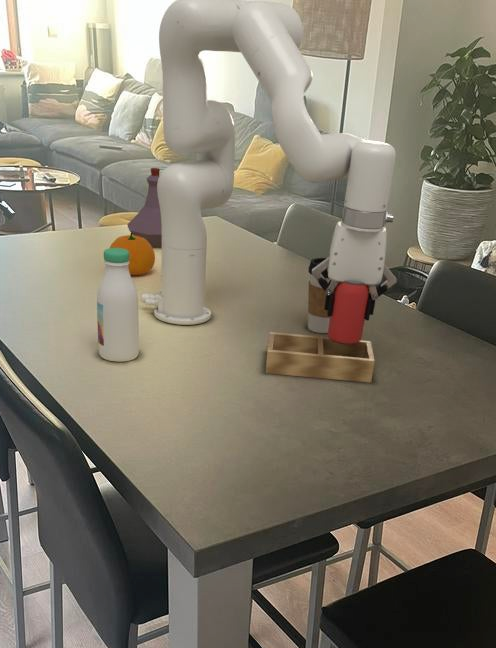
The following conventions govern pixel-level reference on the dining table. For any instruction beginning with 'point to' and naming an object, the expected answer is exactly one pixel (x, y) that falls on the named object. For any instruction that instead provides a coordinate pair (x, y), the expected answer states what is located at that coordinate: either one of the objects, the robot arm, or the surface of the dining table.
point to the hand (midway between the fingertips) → (347, 315)
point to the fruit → (136, 253)
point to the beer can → (348, 312)
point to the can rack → (319, 358)
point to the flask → (149, 215)
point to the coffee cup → (317, 301)
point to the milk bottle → (117, 309)
